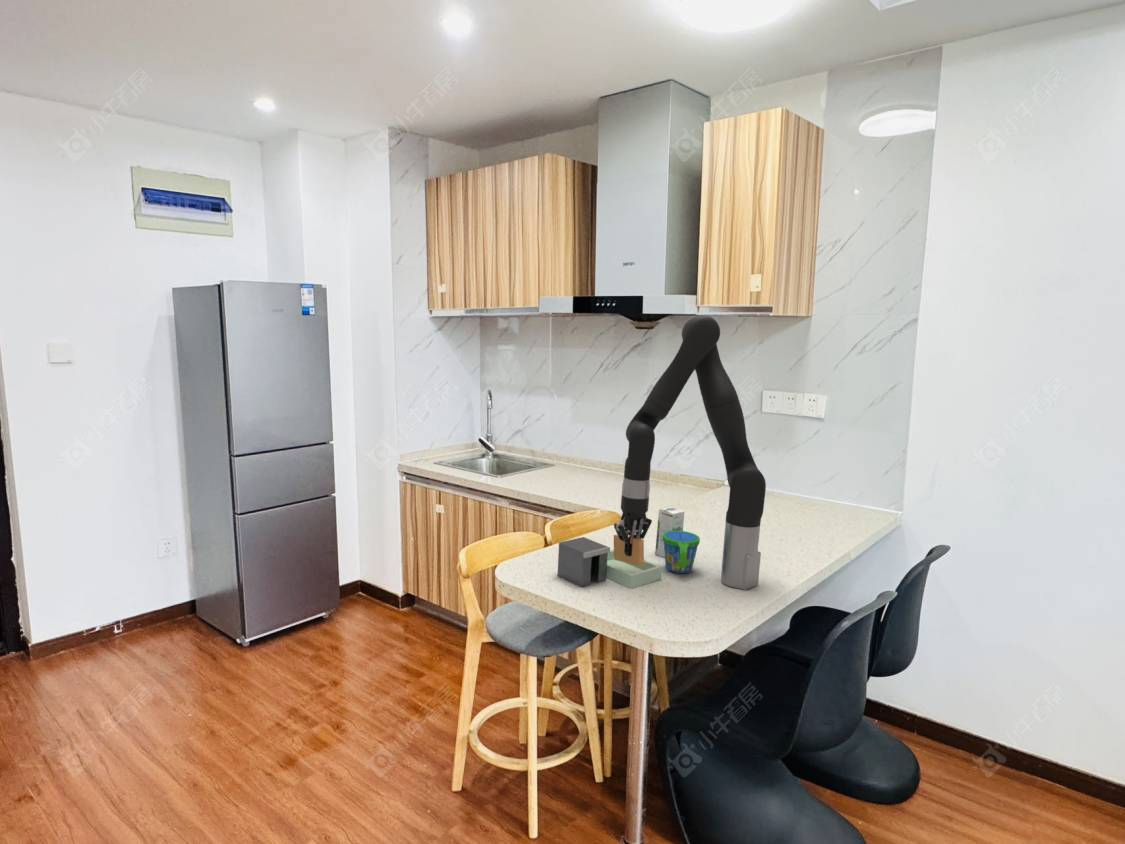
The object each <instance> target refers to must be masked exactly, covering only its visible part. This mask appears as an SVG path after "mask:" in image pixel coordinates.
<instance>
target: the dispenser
mask: <svg viewBox="0 0 1125 844" xmlns="http://www.w3.org/2000/svg"><path fill="white" fill-rule="evenodd" d="M610 550H611V547H610V546H607V545H605V544H602V543H599V542H597V541H594V540H592V539H590V538H587V537H585V536H582V537H578V538H577V537H576V538H574V539H569V540H564V541H560V542H558V558H557V559H558V560H557V576H558V577H559V578H561V579H563V580H566V581H568V582H570V583H572V584H574V585H576V586H578V587H580V588H584V587H588V586H591V580H592V581H594V582H597V583H601V582H604V581H607V577H606V574H607V557H608V552H610Z"/></svg>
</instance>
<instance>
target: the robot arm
mask: <svg viewBox="0 0 1125 844" xmlns="http://www.w3.org/2000/svg"><path fill="white" fill-rule="evenodd" d="M681 330H682V331H681V338H682V342H681V343H680V346H679V349H678V350H677V353H676V354H675V356H674V358H673V360H672V361H671V362H670V364H669V365H668V367H667V368H666V369H665V371H664V372H663V374H662V375H661V376H660V377H659V378H658V380H657V381H656V383H655V384H654V386H653V387H652V389H651V391H650V392H649V394H648V395H647V397H646V399H645V401H644V403H643V404H642V406H641V407H640V409H639V410H638V411H637V412H636V414H635V415H634V416H633V417H632V419H631V420H630V422H629V423H628V425H627V427H626V430H625V436H626V437H625V438H626V440H627V442H628V453H627V457H626V459H625V462H624V468H623V469H624V473H623V480H622V481H623V482H622V485H621V486H622V487H621V498H620V510H621V511H622V512H621V517H620V521H619V522H618V523H616V522H615V523H613V528H614V530H615V532H616V535H618V537H619V539H620V540H621V541H624V542H625V548H624V549H625V550H624V553H625V555H627V556H631V555H632V543H633V538H638V539H643V540H644V539H645V537H646V534H647V533H648V530H649V529H650V528H651V525H652V523H653V521H652V519H650V518H648V517H647V513H648V512H649V503H650V490H651V488H650V487H651V485H650V484H651V483H650V482H651V481H650V478H651V462H652V459H653V455H654V454H653V453H654V449H655V443H656V442H655V441H656V435H655V430H656V428H657V427H658V425H659V423H660V422H661V421H664V419H666V418H667V416H668V415H669V413H670V411H671V409H672V408H673V406H674V405H675V403H676V402H677V400H678V398H679V396H680V395H681V393H682V391H683V389H684V388H685V386H686V384H687V382H688V381H689V380H690V377H691V376H692V375H693V373H694V371H695V373H696V377H697V383H698V388H699V392H700V395H701V398H702V403H703V406H704V410H705V413H706V417H707V418H708V422H709V425H710V427H711V430H712V432H713V435H714V437H715V439H716V441H717V443H718V445H719V448H720V450H721V453H722V456H723V457H722V459H723V462H724V467H725V473H726V478H727V484H728V486H729V496H728V497H729V498H728V505H727V511H726V513H725V523H724V534H723V535H724V538H723V547H722V549H723V550H722V559H721V572H720V582H721V584H723V585H725V586H727V587H731V588H734V589H741V590H744V591H746V590H749V589H752V588H755V587H757V586H758V585H759V579H760V567H761V558H762V557H761V555H762V553H761V551H759V542H760V531H761V522H762V517H763V514H764V508H765V498H766V491H767V490H766V489H767V482H766V479H765V476H764V475H763V473H762V472H761V471H760V469H759V468H758V466H757V465H756V462H755V459H754V457H753V454H752V452H751V451H750V450H751V449H750V447H749V443H748V439H747V431H746V429H747V428H746V423H745V421H746V420H745V417H744V412H743V409H742V405H741V402H740V400H739V399H740V398H739V395H738V393H737V390H736V388H735V386H734V384H733V383H732V380H731V378H730V377H729V375H728V373H727V371H726V370H725V368H724V365H723V363H722V360H721V356H720V353H719V350H718V342H719V340H720V336H721V327H720V325H719V323H718V322H717V321H716V319H715V318H713V317H711V316H708V315H697V316H695V317H692V318H690V319H689V320H687V321H686V322H685V324H683V327H682V329H681ZM628 537H629V538H628Z"/></svg>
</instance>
